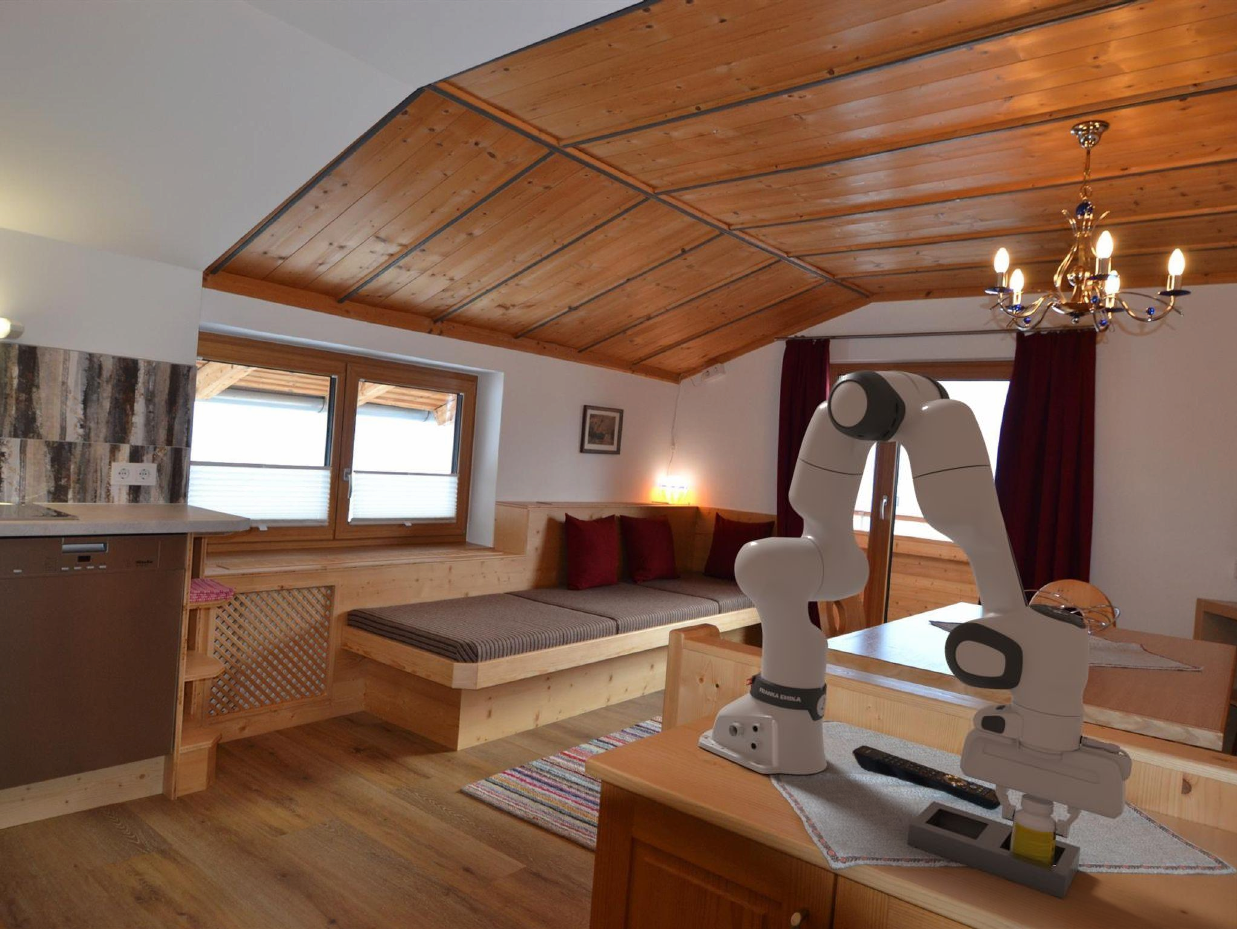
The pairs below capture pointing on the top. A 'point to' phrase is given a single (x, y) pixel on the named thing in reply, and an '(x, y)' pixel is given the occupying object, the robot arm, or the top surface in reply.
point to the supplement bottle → (1034, 829)
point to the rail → (990, 848)
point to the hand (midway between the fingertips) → (1034, 827)
